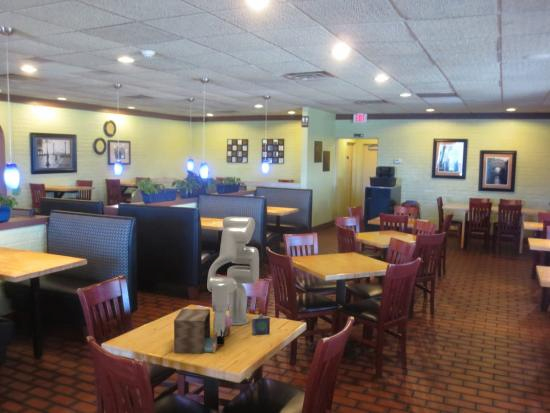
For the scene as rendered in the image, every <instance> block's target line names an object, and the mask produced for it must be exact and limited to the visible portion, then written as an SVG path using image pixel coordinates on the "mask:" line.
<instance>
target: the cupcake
mask: <svg viewBox="0 0 550 413" xmlns="http://www.w3.org/2000/svg"><path fill="white" fill-rule="evenodd" d="M232 324H233V322H232V319H231V318H230V317H229V315H226V327H225V330H224V335H223V336H224V337H227V336H229V335H230V334H231V326H233V325H232Z"/></svg>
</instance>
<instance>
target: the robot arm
mask: <svg viewBox="0 0 550 413" xmlns="http://www.w3.org/2000/svg"><path fill="white" fill-rule="evenodd" d="M222 226H223V230H222V233H221V241H220V247H219V248H220V249H219V255H218V257H217V258H216V259H215V260H214V261H213V263H212V264H211V265H210V267H209V270H208V273H207V282H206V287H207V290H208V291H209V292H211V294H212V312H214V313H213V315H214V316H213V333H216V336H217V346H224V344H225V336H223V335H224V330H225V327H226V316H227V312H228V316H229V317H230V318H231V319H232V322H233V324H232V325H231V326H243V325H246V324H249V322H250V320H249V318H248V317H247V290H246V287H245V286H244V284H248V285H255V284H257V283H258V282H259V281H260V280H259V278H260V254H259V250H258V248H256V247H255V246H246V244H249V243H250V241H251V240H252V237H253V234H254V232H255V228H256V221H255V219H254V218H253V217H251V216H250V217H249V216H227V217H224V218H223V219H222ZM227 263H232V264H238V265H232V266H229V267H228V268H227V273H226V276H227V277H223V276H216V272H217V271H218V269H220V268H221V267H222V266H224V265H225V264H227ZM239 264H240V265H239ZM245 265H246V266H245Z"/></svg>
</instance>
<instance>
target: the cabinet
mask: <svg viewBox="0 0 550 413" xmlns="http://www.w3.org/2000/svg"><path fill="white" fill-rule="evenodd" d="M173 335H174V336H173V342H174V344H173V345H174V347H173V349H174V351H173V352H174V353H175V354H205V353H206V352H205V342H204V338H211V308H181V310H180V311H179V312H178V313H177V315H176V317H175V318H174V319H173Z"/></svg>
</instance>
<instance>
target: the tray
mask: <svg viewBox="0 0 550 413" xmlns="http://www.w3.org/2000/svg"><path fill="white" fill-rule="evenodd" d="M204 342H205V353H212V354H215V353H216V350H217V348H218V345H217V335H216V336H215V337H210V338H204Z"/></svg>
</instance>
